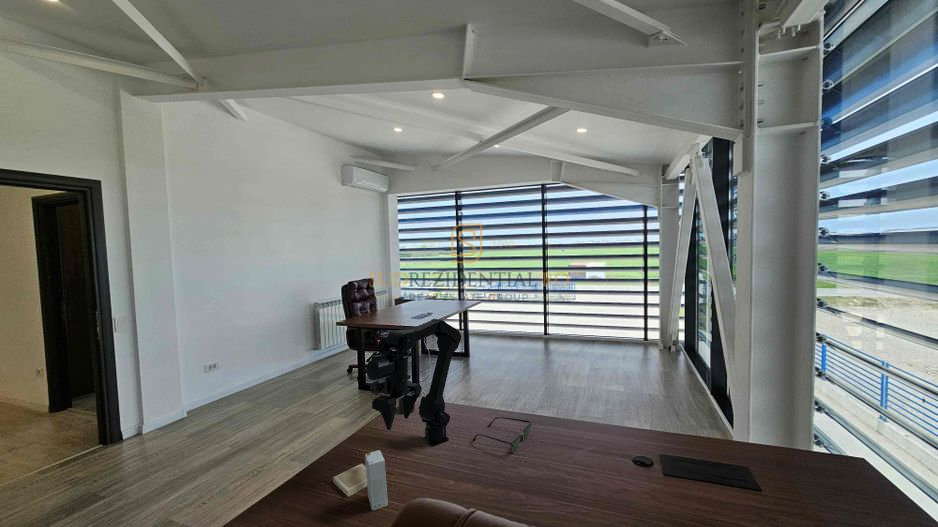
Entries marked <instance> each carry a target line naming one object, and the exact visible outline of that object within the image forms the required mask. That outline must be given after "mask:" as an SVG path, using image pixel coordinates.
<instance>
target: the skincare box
mask: <svg viewBox="0 0 938 527" xmlns="http://www.w3.org/2000/svg"><path fill="white" fill-rule="evenodd" d="M364 459H365V460H364V461H365V462H364V463H365V467H366V475H367V487H366V488H367V497H368V501H369V505H370V508H371V511H377V510H379V509H382V508H385V507H387V506H388V505H389V500H388V490H387V488H388V486H387V478H386V477H387V475H386V474H387V473H386V462H385V461H386V460H385V458H384V456H383V454H382V452H381V450H380V449H379V450H375V451H371V452H368V453H365V454H364Z"/></svg>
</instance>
